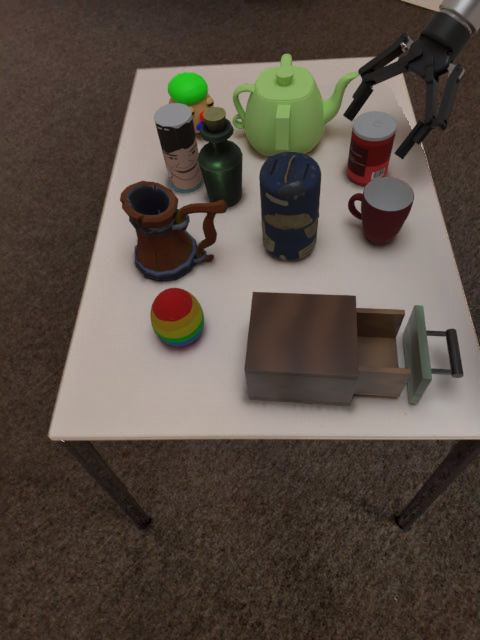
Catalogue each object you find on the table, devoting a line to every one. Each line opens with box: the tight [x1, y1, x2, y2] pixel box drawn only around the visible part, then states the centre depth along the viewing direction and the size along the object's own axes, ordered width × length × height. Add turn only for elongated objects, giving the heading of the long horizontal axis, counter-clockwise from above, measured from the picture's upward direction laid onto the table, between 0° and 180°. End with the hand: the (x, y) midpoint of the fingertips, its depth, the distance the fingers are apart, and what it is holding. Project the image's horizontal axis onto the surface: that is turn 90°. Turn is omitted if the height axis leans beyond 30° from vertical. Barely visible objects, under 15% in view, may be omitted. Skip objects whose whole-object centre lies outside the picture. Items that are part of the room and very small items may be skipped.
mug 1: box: [119, 180, 228, 282], centre depth 80 cm, size 18×12×15 cm, turn 81°
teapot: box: [232, 53, 360, 157], centre depth 97 cm, size 19×20×14 cm
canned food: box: [346, 110, 398, 187], centre depth 90 cm, size 8×8×11 cm
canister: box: [258, 152, 322, 262], centre depth 79 cm, size 10×10×18 cm
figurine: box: [167, 71, 215, 134], centre depth 101 cm, size 11×10×12 cm
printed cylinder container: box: [153, 103, 204, 194], centre depth 91 cm, size 7×7×15 cm
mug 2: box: [347, 176, 415, 245], centre depth 82 cm, size 11×8×10 cm
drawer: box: [353, 304, 465, 405], centre depth 68 cm, size 18×11×8 cm, turn 84°
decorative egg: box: [149, 287, 205, 347], centre depth 74 cm, size 8×8×10 cm
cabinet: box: [244, 291, 359, 406], centre depth 69 cm, size 15×13×10 cm
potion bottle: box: [198, 106, 244, 208], centre depth 87 cm, size 8×8×18 cm
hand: (371, 137), depth 89 cm, fingers open, 13 cm apart
